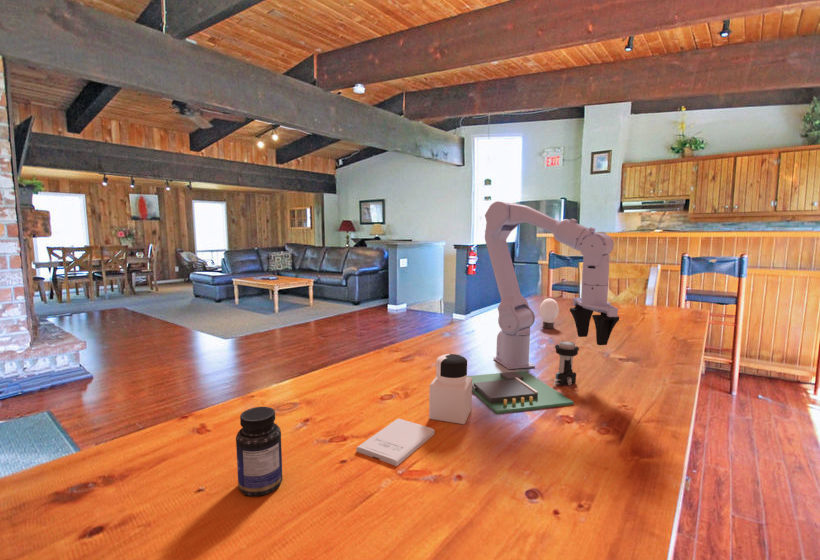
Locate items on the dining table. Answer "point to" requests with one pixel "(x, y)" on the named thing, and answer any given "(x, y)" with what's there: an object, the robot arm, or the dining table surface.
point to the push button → (566, 363)
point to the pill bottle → (259, 452)
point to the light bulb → (549, 312)
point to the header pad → (505, 390)
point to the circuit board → (545, 397)
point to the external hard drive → (396, 441)
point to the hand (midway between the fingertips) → (591, 340)
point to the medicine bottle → (450, 390)
